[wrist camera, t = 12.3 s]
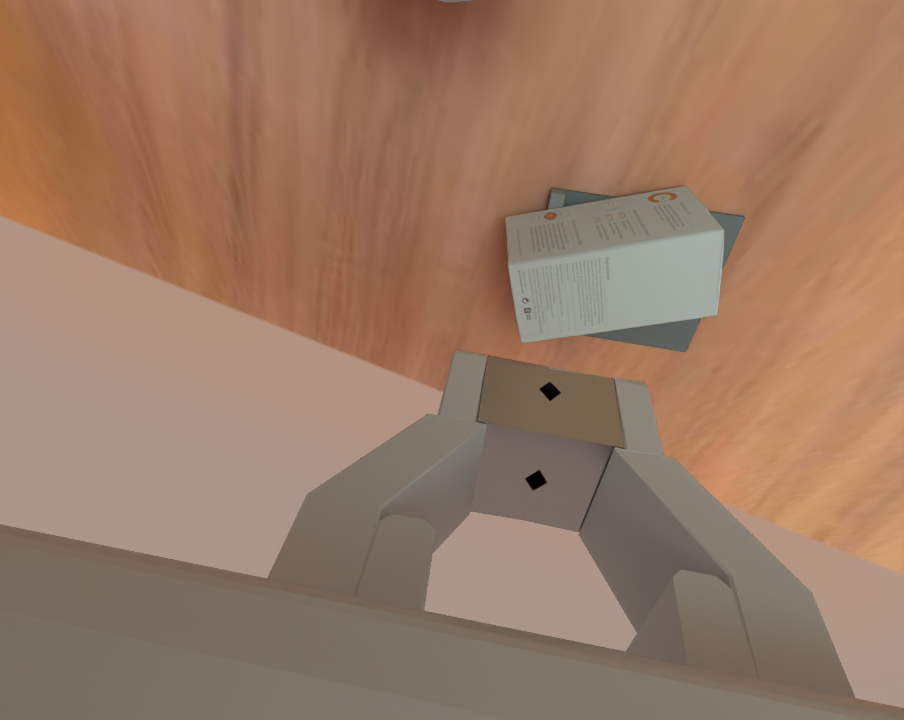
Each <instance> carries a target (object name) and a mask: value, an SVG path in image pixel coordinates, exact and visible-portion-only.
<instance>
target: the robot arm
mask: <svg viewBox="0 0 904 720" xmlns="http://www.w3.org/2000/svg"><path fill="white" fill-rule="evenodd" d="M486 359H487V362H486ZM485 365H486V367H485ZM484 371H485V372H484ZM470 511H471V512H478V513H483V514H490V515H496V516H502V517H508V518H514V519H520V520H525V521H530V522H534V523H539V524H544V525H548V526H553V527H557V528H562V529H566V530H571V531H576V532H580V533H579V536H580V538H581V539H582V541H583V543H584V544H585V546H586V548H587V549H588V551H589V553H590V555H591V556H592V558H593V560H594V561H595V563H596V565H597V566H598V568H599V570H600V571H601V573H602V574H603V576H604V578H605V580H606V582H607V583H608V585H609V587H610V588H611V590H612V592H613V593H614V595H615V596H616V598H617V600H618V601H619V604H620V605H621V607H622V608H623V610H624V612H625V614H626V615H627V617H628V619H629V620H630V622H631V624H632V625H633V627H634V629H635V630H636V632H637V635H636V636H635V638H634V639H633V641H632V642H631V644H630V645H629V647H628V649H627V650H626V652H625V651H620V650H615V649H610V648H605V647H600V646H595V645H590V644H585V643H580V642H575V641H570V640H565V639H560V638H555V637H550V636H545V635H541V634H536V633H531V632H526V631H521V630H516V629H511V628H506V627H501V626H496V625H491V624H486V623H481V622H476V621H472V620H467V619H462V618H457V617H452V616H447V615H442V614H437V613H433V612H427V611H424V607H425V601H426V594H427V587H428V580H429V574H430V567H431V560H432V554H433V553H434V551H435V550H436V549H437V548H438V547H439V546H440V545H441V544H442V543H443V542H444V541H445V540H446V538H448V537H449V535H450V534H451V533H452V532H453V531H454V530H455V529H456V528H457V527H458V526H459V525H460V524H461V523H462V522H463V521H464V519H465V518H466V517H467V516H468V515H469V513H470ZM0 720H904V708H901V707H896V706H891V705H886V704H881V703H876V702H871V701H866V700H861V699H856V698H855V696H854V693H853V691H852V688H851V686H850V683H849V681H848V679H847V676H846V674H845V671H844V669H843V667H842V664H841V662H840V659H839V657H838V654H837V652H836V650H835V647H834V645H833V642H832V640H831V637H830V635H829V632H828V630H827V628H826V625H825V623H824V621H823V618H822V616H821V613H820V611H819V608H818V606H817V603H816V601H815V599H814V596H813V594H812V592H811V591H810V590H809V589H808V588H807V587H806V586H805V585H804V584H803V583H801V581H799V579H798V578H796V577H795V576H794V575H793V574H792V573H791V572H790V571H789V570H788V569H787V568H786V567H785V566H784V565H783V564H782V563H781V562H780V561H779V560H778V559H777V558H776V557H775V556H774V555H773V554H772V553H771V552H770V551H769V550H768V549H767V548H766V547H765V546H764V545H763V544H762V543H761V542H760V541H758V539H757V538H755V536H753V535H752V534H751V533H750V532H749V531H748V530H747V529H746V528H745V527H744V526H743V525H742V524H741V523H740V522H739V521H738V520H737V519H736V518H735V517H734V516H733V515H732V514H731V513H730V512H729V511H728V510H727V509H726V508H725V507H724V506H723V505H722V504H721V503H720V502H719V501H718V500H717V499H716V498H715V497H714V496H713V495H711V494H710V493H709V492H708V491H707V490H706V489H705V488H704V487H703V486H702V485H701V484H700V483H699V482H698V481H697V480H696V479H695V478H694V477H693V476H692V475H691V474H690V473H689V472H688V471H687V470H686V469H685V468H684V467H683V466H682V465H681V464H680V463H679V462H678V461H677V460H676V459H675V458H669V457H665V456H664V452H663V448H662V443H661V439H660V435H659V431H658V427H657V422H656V418H655V414H654V410H653V405H652V401H651V397H650V393H649V389H648V386H647V385H646V384H645V382H642V381H635V380H628V379H621V378H614V377H612V378H608V377H602V376H596V375H590V374H584V373H578V372H572V371H566V370H560V369H554V368H549V367H546V366H541V365H536V364H531V363H526V362H521V361H516V360H511V359H505V358H500V357H495V356H490V355H488V357H486V355H485V354H479V353H474V352H468V351H462V350H457V349H456V351H455V352H454V354H453V357H452V361H451V365H450V369H449V373H448V377H447V381H446V384H445V388H444V392H443V396H442V400H441V404H440V408H439V412H438V415H434V414H427V415H425V416H424V417H422V418H421V419H419V420H418V421H416V422H415V423H413V424H412V425H410V426H409V427H407V428H406V429H404V430H403V431H401V432H400V433H398V434H397V435H395V436H394V437H392V438H391V439H389V440H388V441H386V442H385V443H383V444H382V445H380V446H379V447H377V448H376V449H374V450H373V451H371V452H370V453H368V454H367V455H365V456H363V457H362V458H360V459H359V460H358V461H356V462H355V463H353V464H352V465H350V466H348V467H347V468H345V469H344V470H342V471H341V472H340V473H338V474H337V475H335V476H333V477H332V478H330V479H329V480H327V481H326V482H324V483H323V484H321V485H320V486H319V487H317V488H315V489H314V490H312V491H311V492H309V493H308V494H307V495H306V497H305V500H304V502H303V504H302V506H301V508H300V510H299V512H298V514H297V516H296V519H295V521H294V523H293V525H292V527H291V529H290V531H289V533H288V536H287V538H286V540H285V542H284V544H283V546H282V548H281V550H280V552H279V555H278V557H277V559H276V561H275V563H274V565H273V567H272V569H271V571H270V574H269V576H268V578H262V577H257V576H252V575H247V574H242V573H237V572H232V571H228V570H222V569H218V568H213V567H208V566H203V565H198V564H193V563H188V562H183V561H178V560H173V559H168V558H163V557H159V556H154V555H149V554H144V553H138V552H134V551H129V550H124V549H119V548H114V547H109V546H104V545H99V544H94V543H89V542H85V541H80V540H75V539H70V538H65V537H60V536H55V535H50V534H45V533H40V532H35V531H31V530H25V529H20V528H16V527H10V526H6V525H1V524H0Z"/></svg>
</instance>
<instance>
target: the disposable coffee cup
mask: <svg viewBox="0 0 904 720" xmlns="http://www.w3.org/2000/svg"><path fill="white" fill-rule="evenodd" d="M439 1H443V2H447V3H448V2H462V1H472V0H439Z"/></svg>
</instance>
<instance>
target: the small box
mask: <svg viewBox="0 0 904 720" xmlns="http://www.w3.org/2000/svg"><path fill="white" fill-rule="evenodd" d="M505 223H506V235H507V252H508V270H509V276H510V283H511V289H512V295H513V301H514V307H515V313H516V319H517V324H518V329H519V334H520V339H521V342H522V343H529V342H536V341H544V340H550V339H557V338H564V337H571V336H578V335H585V334H592V333H599V332H606V331H613V330H621V329H628V328H635V327H642V326H649V325H656V324H663V323H670V322H677V321H684V320H691V319H698V318H706V317H713V316H717V312H718V303H719V294H720V285H721V275H722V263H723V251H724V229H723V228H722V227H721V226H720V224H719V223H718V222H717V221H716V220H715V218H714V217H713V216H712V215H711V214H710V212H709V211H708V209H707V207H706V206H705V205H704V204H703V203H702V202H701V201H700V200H699V199H698V198H697V197H696V196H695V195H694V194H693V193H692V192H691V191H690V190H689V189H688V188H687V186H682V187H676V188H670V189H664V190H658V191H653V192H647V193H641V194H635V195H629V196H624V197H618V198H612V199H606V200H600V201H594V202H589V203H583V204H578V205H572V206H567V207H561V208H555V209H549V210H543V211H537V212H531V213H526V214H520V215H513V216H507V217H506V218H505Z"/></svg>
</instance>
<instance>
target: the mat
mask: <svg viewBox="0 0 904 720" xmlns="http://www.w3.org/2000/svg"><path fill="white" fill-rule="evenodd" d="M612 198H618V197H612V196H605V195H599V194H592V193H585V192H579V191H572V190H565V189H558V188H551V193H550V198H549V202H548V207H547V210H549V209H555V208H561V207H567V206H572V205H578V204H583V203H589V202H594V201H600V200H606V199H612ZM709 212H710V214H711V215H712V216H713V217H714V218H715V220H716V221H717V222H718V223H719V224H720V226H721V227H722V228H723V229H724V251H723V263H722V269H723V267H724V265H725V262H726V260H727V258H728V256H729V253H730V251H731V249H732V247H733V244H734V242H735V240H736V237H737V235H738V233H739V231H740V228H741V226H742V224H743V222H744V219H745V217H744V216H739V215H733V214H726V213H719V212H713V211H709ZM700 319H701V318H698V319H691V320H684V321H677V322H670V323H663V324H656V325H649V326H642V327H635V328H628V329H621V330H613V331H606V332H599V333H592V334H585V336H591V337H597V338H603V339H609V340H615V341H621V342H627V343H633V344H639V345H645V346H651V347H658V348H664V349H670V350H676V351H682V352H686V351H687V349H688V346H689V344H690V342H691V340H692V337H693V335H694V333H695V331H696V328H697V326H698V324H699V321H700Z"/></svg>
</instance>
